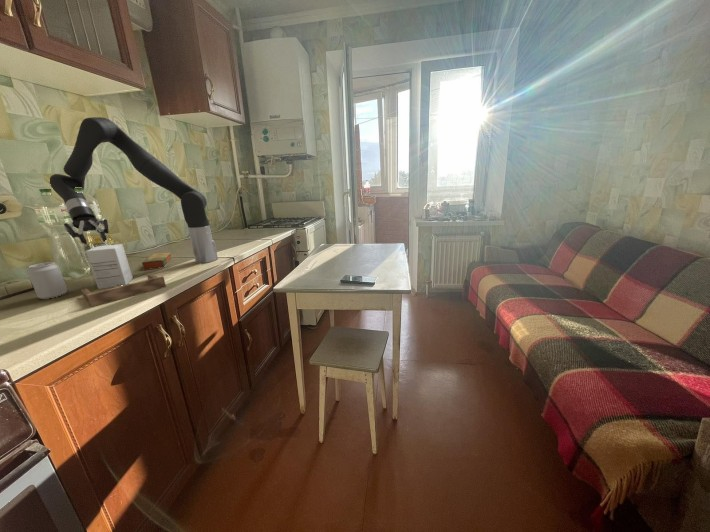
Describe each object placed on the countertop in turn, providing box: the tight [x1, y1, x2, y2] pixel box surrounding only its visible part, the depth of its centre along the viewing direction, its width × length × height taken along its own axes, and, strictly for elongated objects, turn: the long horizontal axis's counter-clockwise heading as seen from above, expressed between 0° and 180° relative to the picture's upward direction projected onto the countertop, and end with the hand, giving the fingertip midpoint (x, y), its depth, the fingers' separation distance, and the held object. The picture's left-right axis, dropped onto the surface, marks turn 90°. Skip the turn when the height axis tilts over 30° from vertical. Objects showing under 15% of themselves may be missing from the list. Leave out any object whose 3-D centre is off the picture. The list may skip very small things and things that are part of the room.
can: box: [27, 261, 68, 300], centre depth 98 cm, size 8×8×12 cm
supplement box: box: [85, 243, 134, 290], centre depth 107 cm, size 9×9×15 cm
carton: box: [141, 252, 173, 270], centre depth 135 cm, size 8×16×4 cm, turn 21°
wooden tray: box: [80, 273, 167, 308], centre depth 101 cm, size 21×15×4 cm
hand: (95, 241), depth 116 cm, fingers open, 5 cm apart
